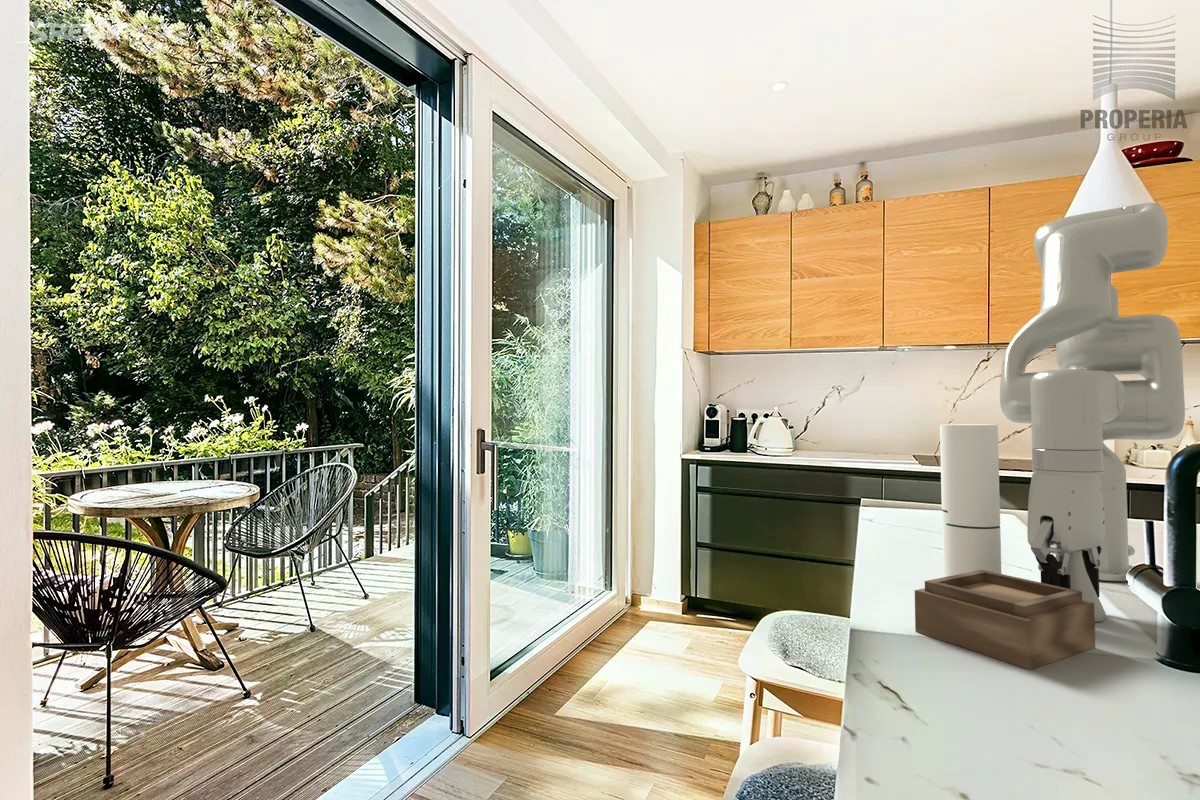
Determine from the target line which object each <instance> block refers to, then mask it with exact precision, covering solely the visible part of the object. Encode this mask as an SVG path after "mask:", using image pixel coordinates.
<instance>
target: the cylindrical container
mask: <svg viewBox="0 0 1200 800" xmlns="http://www.w3.org/2000/svg"><path fill="white" fill-rule="evenodd" d="M939 441H940V442H939V443H940V444H939V445H940V446H939V449H940V485H941V487H940V488H941V489H940V490H941V491H940V492H941V495H940V496H941V497H940V498H941V530H942V531H941V534H942V535H941V536H942V537H941V538H942V572H943V574H942V576H943V577H948V576H953V575H958V574H963V573H968V572H973V571H978V570H985V571H990V572H994V573H999V574H1002V543H1001V542H1002V539H1001V537H1002V536H1001V533H1002V532H1001V500H1000V499H1001V497H1000V496H1001V495H1000V466H999V465H1000V464H999V459H1000V458H999V456H1000V455H999V424H995V423H994V424H993V423H987V424H986V423H983V424H982V423H979V424H977V423H972V424H971V423H970V424H969V423H960V424H959V423H956V424H955V423H952V424H951V423H950V424H949V423H947V424H945V423H944V424H943V423H942V424H939ZM943 577H942V578H943Z"/></svg>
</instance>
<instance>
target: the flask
mask: <svg viewBox="0 0 1200 800" xmlns="http://www.w3.org/2000/svg"><path fill="white" fill-rule="evenodd" d="M1059 546H1060V545H1056V548H1059V549H1061V548H1060V547H1059ZM1059 556H1060V555H1058V554H1055V557H1056V559H1057V561H1059ZM1066 574H1068V575H1070V587H1071V589H1072V590H1077V591H1082V600H1083V601H1087V602H1092V603H1094V616H1095V622H1103V621H1104V620H1105V619H1106V618H1107V616H1108V615H1107V614H1106V610H1105V609H1104V607H1103V604H1102V602H1101V601H1100V600H1101V599H1099V598H1100V597H1099V598H1098V596H1097V594H1096V592H1095V590H1094V587H1093V585H1092V583H1091V581H1090V578H1089V576H1088V574H1087V571H1086V569H1085V565H1084V561H1083V557H1082V550H1081V551H1076V552H1070V556H1069V561H1068V566H1067V571H1066Z"/></svg>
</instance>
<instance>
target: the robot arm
mask: <svg viewBox="0 0 1200 800" xmlns="http://www.w3.org/2000/svg"><path fill="white" fill-rule="evenodd" d="M1168 240H1169V221H1168V216H1167V213H1166V212H1165V210H1164V208H1163V207H1162V205H1160V204H1159V203H1157V202H1143V203H1139V204H1138V203H1137V204H1133V205H1126V206H1121V207H1116V208H1110V209H1103V210H1097V211H1091V212H1087V213H1086V212H1085V213H1080V214H1076V215H1074V214H1073V215H1070V216H1067V217H1066V216H1065V217H1062V218H1059V219H1056V220H1055V219H1054V220H1051V221H1049V222H1047V223H1044V225H1042V226H1040V227H1039V229H1037V231H1036V232H1035V234H1034V238H1033V247H1034V252H1035V255H1036V256H1035V257H1036V260H1037V263H1038V265H1039V268H1040V270H1041V273H1042V274H1041V291H1040V309H1039V312H1038V313H1037V314H1036V315H1035V316H1032V318H1031V319H1030V320H1028V321H1027V323H1025V324H1024V325H1023V326H1022V327H1021V328H1020V329H1019V330H1018V331H1017V332H1016V334H1015V335H1014V336H1013V337H1012V339H1011V340H1010V342H1009V343H1008V345H1007V347H1006V350H1005V351H1004V353H1003V357H1002V362H1001V375H1000V385H999V405H1000V408H1001V411H1002V413H1003V415H1004V417H1006V418H1007V419H1008V421H1009V420H1010V421H1011V422H1014V423H1017V424H1031V427H1030V428H1031V453H1032V454H1031V458H1032V459H1031V460H1032V461H1031V462H1032V465H1031V466H1032V473H1031V474H1032V475H1031V481H1030V484H1029V486H1030V487H1029V492H1028V493H1029V494H1028V501H1027V502H1028V503H1027V504H1028V506H1027V524H1026V525H1027V528H1026V529H1027V531H1026V532H1027V533H1026V534H1027V543H1028V544H1029V546H1030V550H1031V552H1032V553H1033V554H1034V556H1035V561H1037V563H1038V566H1037V569H1038V570H1039V572H1040V583H1045V584H1049V585H1054V586H1059V587H1063V588H1068V589H1071V587H1070V575H1068V574H1066V571H1067V566H1068V561H1069V556H1070V552H1076V551H1081V550H1082V557H1083V561H1084V565H1085V569H1086V571H1087V574H1088V576H1089V578H1090V581H1091V583H1092V585H1093V587H1094V590H1095V592H1096V594H1097V596H1098V598H1100V581H1106V582H1107V581H1108V582H1127V581H1126V574H1127V572H1128V571H1129V569H1131V568H1132V567H1135V566H1133V565H1131V564H1129V559H1130V558H1129V557H1132V556H1134V554H1135V552H1136V550H1135V548H1134V547H1133V546H1132V545H1130V544H1129V532H1128V531H1129V530H1128V529H1129V527H1128V499H1127V496H1128V495H1127V473H1126V472H1127V471H1126V470H1127V469H1126V468H1125V464H1124V462H1123V461H1122V459H1121V458H1120V457H1119V455H1117V454H1116V453H1115V452H1114V451H1113V450H1112V449H1110V448H1109V447H1108V446H1107V445H1106V444H1105V442H1104V441H1109V440H1110V441H1112V440H1113V441H1114V440H1134V441H1135V440H1139V441H1147V440H1149V441H1151V440H1152V441H1153V440H1155V441H1156V440H1160V441H1161V440H1168V439H1173V438H1175V437H1178V436H1179V435H1180V434H1181V432H1182V431H1183V429H1184V424H1185V418H1186V412H1185V408H1186V406H1185V405H1186V404H1185V402H1186V401H1185V385H1184V383H1185V382H1184V368H1183V349H1182V347H1183V346H1182V340H1181V339H1182V338H1181V335H1180V331H1179V327H1178V325H1177V324H1176V322H1175V321H1174V320H1173V319H1172V318H1171V317H1169V316H1166V315H1162V314H1141V315H1140V314H1139V315H1130V316H1127V315H1126V316H1120V315H1119V292H1118V290H1117V288H1116V287H1115V285H1113V284H1112V274H1116V273H1125V272H1132V271H1139V270H1147V269H1152V268H1154V267H1157V266H1159V265H1160V264H1161V263H1162V261H1163V260H1164V258H1165V255H1166V253H1167V249H1168V243H1169V241H1168ZM1054 345H1055V353H1056V355H1055V356H1056V361H1057V365H1058V367H1059V369H1053V370H1052V369H1050V370H1049V369H1048V370H1042V371H1037V372H1034V371H1033V372H1026V369H1027V366H1028V364H1030V362H1031V361H1032V360H1033V358H1034V357H1036V356H1037V355H1038V354H1039V353H1041V352H1043V351H1045V350H1046V349H1048V348H1050V347H1052V346H1054ZM1116 375H1117V376H1118V375H1140V376H1141V377H1142V378H1144V379H1134V380H1133V379H1132V380H1131V379H1130V380H1129V379H1128V380H1119V379H1118V377H1117V376H1116ZM1054 545H1055V547H1052V546H1054ZM1056 545H1060V546H1059V547H1060V548H1061V549H1059V548H1056ZM1056 554H1058V555H1060V556H1059V561H1057V559H1056Z"/></svg>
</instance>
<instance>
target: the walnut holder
mask: <svg viewBox="0 0 1200 800" xmlns="http://www.w3.org/2000/svg"><path fill="white" fill-rule="evenodd" d="M914 617H915V618H914V619H915V622H914V624H915V625H914V626H915V627H914V629H915V632H916V633H919V634H922V635H925V636H927V637H931V638H934V639H937V640H939V639H940V641H942V640H943V642H945V641H946V642H945V643H948V642H949V643H948V644H951V643H953V644H952V645H954V644H955V646H957V645H959V646H958V647H960V646H962V647H961V648H963V647H965V648H964V649H966V648H967V649H966V650H969V649H970V650H969V651H972V650H973V651H972V652H976V653H978V654H981V655H984V656H987V657H990V658H993V659H997V660H1000V661H1002V662H1005V663H1008V664H1011V665H1014V666H1017V667H1020V668H1023V669H1025V670H1029V671H1030V670H1032V669H1033V670H1034V669H1036V668H1039V667H1041V666H1045V665H1048V664H1050V663H1054V662H1056V661H1059V660H1062V659H1065V658H1068V657H1071V656H1074V655H1077V654H1080V653H1083V652H1086V651H1089V650H1093V649H1096V628H1095V627H1096V625H1095V624H1096V623H1095V616H1094V603H1092V602H1087V601H1083V600H1082V591H1077V590H1072V589H1068V588H1063V587H1059V586H1054V585H1049V584H1045V583H1041V581H1035V580H1030V579H1027V578H1021V577H1016V576H1011V575H1007V574H1003V573H1001V574H999V573H994V572H990V571H985V570H978V571H973V572H968V573H963V574H958V575H953V576H948V577H938V578H932V579H929V580H924V588H919V589H914Z"/></svg>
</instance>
